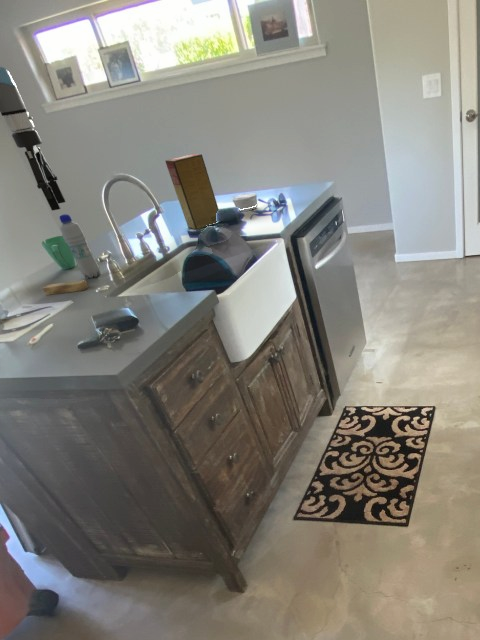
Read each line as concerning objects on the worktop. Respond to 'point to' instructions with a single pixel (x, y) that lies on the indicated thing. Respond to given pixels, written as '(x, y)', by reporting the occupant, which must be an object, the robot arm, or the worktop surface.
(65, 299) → the worktop surface
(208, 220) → the food packaging
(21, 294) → the worktop surface
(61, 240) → the mug
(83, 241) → the bottle
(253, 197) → the ramekin
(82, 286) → the stick
